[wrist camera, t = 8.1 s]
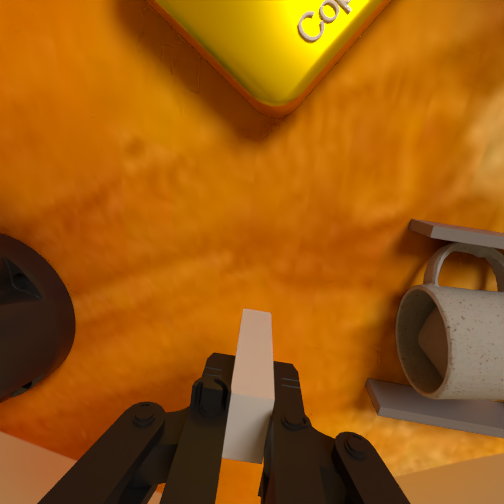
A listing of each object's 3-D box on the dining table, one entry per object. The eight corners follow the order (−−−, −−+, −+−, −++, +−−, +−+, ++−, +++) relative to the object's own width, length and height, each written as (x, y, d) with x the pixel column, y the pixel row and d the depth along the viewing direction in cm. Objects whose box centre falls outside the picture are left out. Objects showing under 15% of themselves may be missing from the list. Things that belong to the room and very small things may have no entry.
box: (365, 386, 28) (377, 415, 24) (411, 218, 24) (433, 225, 21) (512, 412, 27) (545, 445, 24) (582, 245, 23) (633, 257, 20)
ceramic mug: (489, 362, 26) (574, 434, 19) (389, 357, 27) (433, 424, 19) (514, 239, 24) (622, 264, 17) (405, 236, 25) (461, 259, 17)
